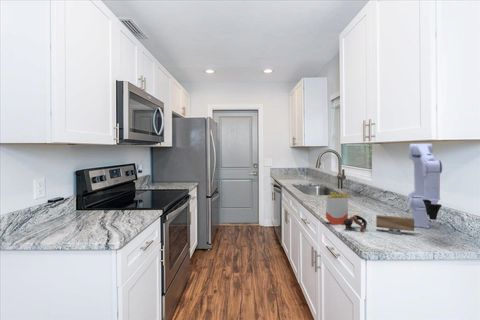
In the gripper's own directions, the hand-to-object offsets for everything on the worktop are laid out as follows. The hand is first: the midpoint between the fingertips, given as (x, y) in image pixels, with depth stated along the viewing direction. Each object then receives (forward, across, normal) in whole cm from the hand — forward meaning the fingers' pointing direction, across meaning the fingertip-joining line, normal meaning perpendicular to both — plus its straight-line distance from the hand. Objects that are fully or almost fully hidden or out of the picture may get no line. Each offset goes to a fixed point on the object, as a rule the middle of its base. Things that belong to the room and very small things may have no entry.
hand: (431, 217), depth 116 cm
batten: (+8, -6, -14) cm, 17 cm away
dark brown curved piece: (+11, -2, -32) cm, 34 cm away
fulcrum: (+10, -6, -14) cm, 18 cm away
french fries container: (+11, -9, -42) cm, 44 cm away
